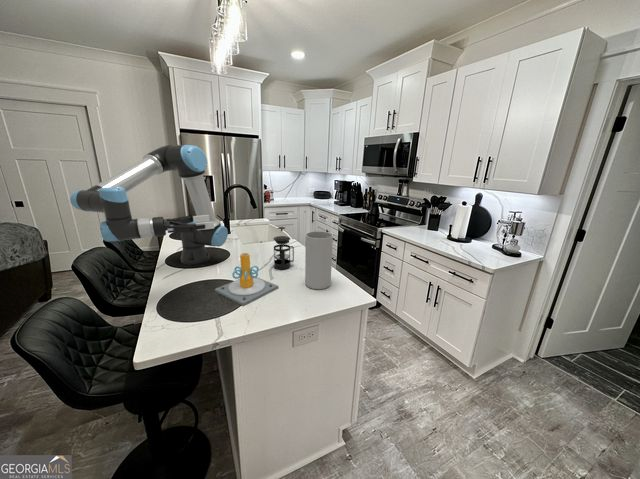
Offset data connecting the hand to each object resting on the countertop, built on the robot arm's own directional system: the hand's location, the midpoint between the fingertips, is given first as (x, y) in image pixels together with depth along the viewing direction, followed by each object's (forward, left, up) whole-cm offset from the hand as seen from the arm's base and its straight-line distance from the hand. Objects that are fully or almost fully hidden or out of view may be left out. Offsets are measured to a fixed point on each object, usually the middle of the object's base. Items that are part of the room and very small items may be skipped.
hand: (211, 221), depth 109 cm
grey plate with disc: (+12, +7, -32) cm, 34 cm away
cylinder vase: (+34, +32, -32) cm, 57 cm away
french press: (+6, +37, -32) cm, 49 cm away
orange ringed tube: (+12, +7, -30) cm, 33 cm away
